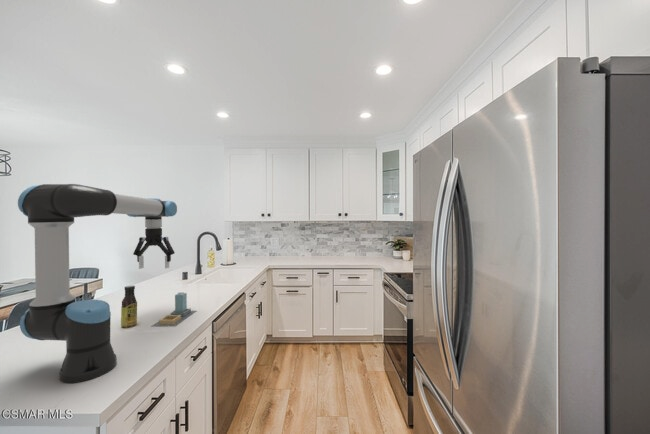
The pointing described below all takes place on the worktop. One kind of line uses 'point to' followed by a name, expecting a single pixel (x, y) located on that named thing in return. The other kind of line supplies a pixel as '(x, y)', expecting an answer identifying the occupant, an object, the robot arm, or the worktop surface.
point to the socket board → (173, 319)
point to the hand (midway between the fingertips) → (154, 268)
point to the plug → (180, 302)
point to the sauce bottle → (129, 308)
